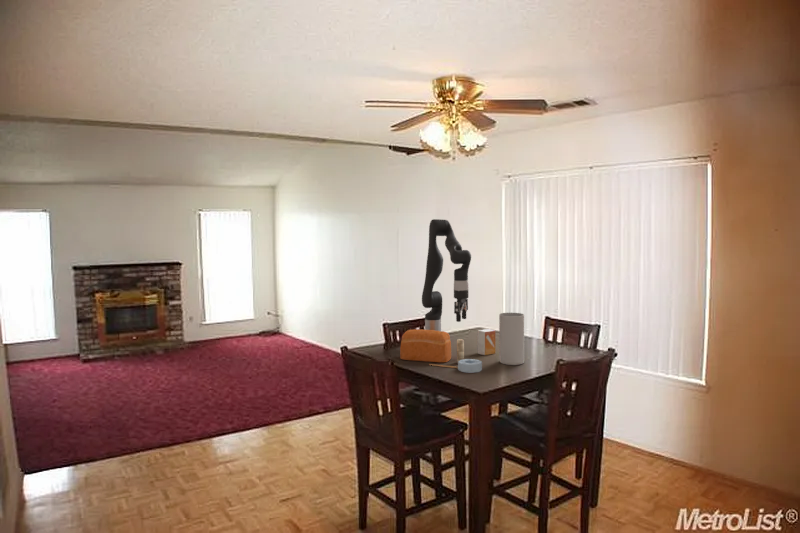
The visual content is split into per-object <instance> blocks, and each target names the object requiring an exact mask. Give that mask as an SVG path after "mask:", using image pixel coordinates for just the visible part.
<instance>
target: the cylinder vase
mask: <svg viewBox="0 0 800 533" xmlns="http://www.w3.org/2000/svg"><path fill="white" fill-rule="evenodd" d="M498 322H499V324H498V325H499V327H498V329H499V330H498V331H499V332H498V333H499V340H498V342H499V346H498V347H499V348H498V349H499V362H500V364H503V365H505V366H506V365H507V366H518V365H522V364H524V362H525V313H521V312H502V313H499V320H498Z"/></svg>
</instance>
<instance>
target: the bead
mask: <svg viewBox="0 0 800 533" xmlns="http://www.w3.org/2000/svg"><path fill="white" fill-rule="evenodd" d="M457 367H458V368H457V370H458V371H459V372H462V373H467V374H468V373H470V374H472V373H474V374H475V373H480V372H481V371H483V361H482V360H479V359H477V358H476V359H475V358H473V359H472V358H464V359H463V360H460V361H458V363H457Z"/></svg>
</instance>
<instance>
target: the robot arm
mask: <svg viewBox="0 0 800 533" xmlns="http://www.w3.org/2000/svg"><path fill="white" fill-rule="evenodd" d="M428 230H429V231H428V248H427V258H426V266H425V276H424V284H423V289H422V293H421V294H422V295H421V304H422V306H423V308H425V309H430V310H429V311H428V312H426V314H424V330H435V331H442V314H443V295H442V293H441V292H440V291H438V290H437V291H434V289H433V288H434V286H435V284H436V282H437V280H438V279H439V278H440V276H441V274H442V272H443V265H444V257H443V255H442V253H441V251H440V249H439V247H438V244H437V243H438V242H437V237H446V238H445V242H444V245H445V248H446V250H448V252H449V253H448V254H449V256H450V261H451V263H452V264H454V265H461V267H459V268H455V269H454V271H453V274H454V275H453V298H454V299H456V301H454V304H453V305H454V307H453V309H454V310H453V311H454V312H453V313H454V314H455V315H456V316H455V321H456V322H458V323H460V322H461V321H462V319H463V320H466V319H467V312H468V310H469V275H468V274H469V268H470V264H471V261H472V254H471V252H470V251H469V250H467V249H463V247H462V244H461V243H460V242H459V241H458V239H457V237H456V236H455V233H454V230H453V227H452V225H451V223H450V221H449V220H447V219H434V218H433V219H431V220H430V223H429V226H428Z"/></svg>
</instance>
